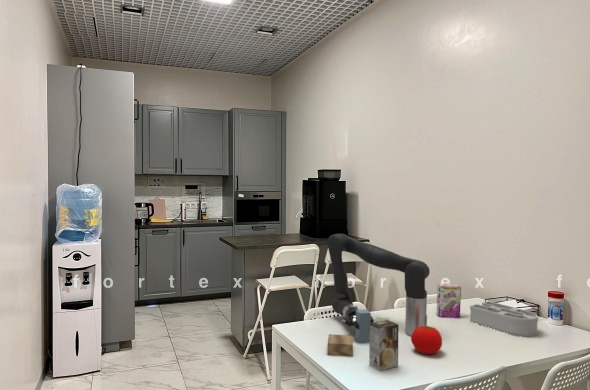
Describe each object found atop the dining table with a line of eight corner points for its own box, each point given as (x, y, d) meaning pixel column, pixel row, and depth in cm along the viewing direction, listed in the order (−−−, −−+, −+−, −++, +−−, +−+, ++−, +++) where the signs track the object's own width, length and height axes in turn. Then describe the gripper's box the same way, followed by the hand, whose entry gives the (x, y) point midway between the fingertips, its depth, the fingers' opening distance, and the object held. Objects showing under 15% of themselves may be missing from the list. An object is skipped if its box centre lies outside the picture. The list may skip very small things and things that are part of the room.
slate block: (366, 338, 187) (366, 309, 187) (370, 342, 182) (370, 312, 182) (355, 338, 186) (355, 309, 186) (359, 343, 181) (359, 313, 181)
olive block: (387, 349, 175) (388, 318, 175) (388, 353, 170) (389, 322, 170) (375, 348, 176) (376, 317, 176) (376, 353, 171) (376, 321, 171)
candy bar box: (438, 317, 218) (439, 285, 218) (436, 314, 223) (436, 283, 223) (460, 318, 217) (461, 286, 217) (457, 315, 222) (458, 284, 222)
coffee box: (387, 360, 164) (388, 319, 164) (398, 366, 159) (399, 324, 158) (368, 364, 160) (369, 322, 160) (379, 371, 154) (380, 328, 154)
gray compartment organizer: (488, 317, 220) (488, 301, 220) (544, 333, 197) (544, 315, 197) (469, 322, 211) (469, 305, 211) (526, 340, 188) (526, 321, 188)
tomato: (438, 360, 165) (439, 333, 165) (407, 353, 172) (408, 327, 171) (444, 350, 175) (445, 325, 174) (415, 344, 181) (416, 320, 181)
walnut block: (352, 347, 177) (352, 335, 177) (352, 357, 167) (352, 344, 167) (328, 345, 179) (328, 334, 178) (327, 355, 169) (327, 343, 168)
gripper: (338, 307, 197) (349, 318, 180) (367, 306, 199) (380, 317, 183) (337, 323, 197) (348, 336, 180) (366, 321, 200) (380, 334, 183)
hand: (364, 326), depth 182 cm, fingers open, 5 cm apart
